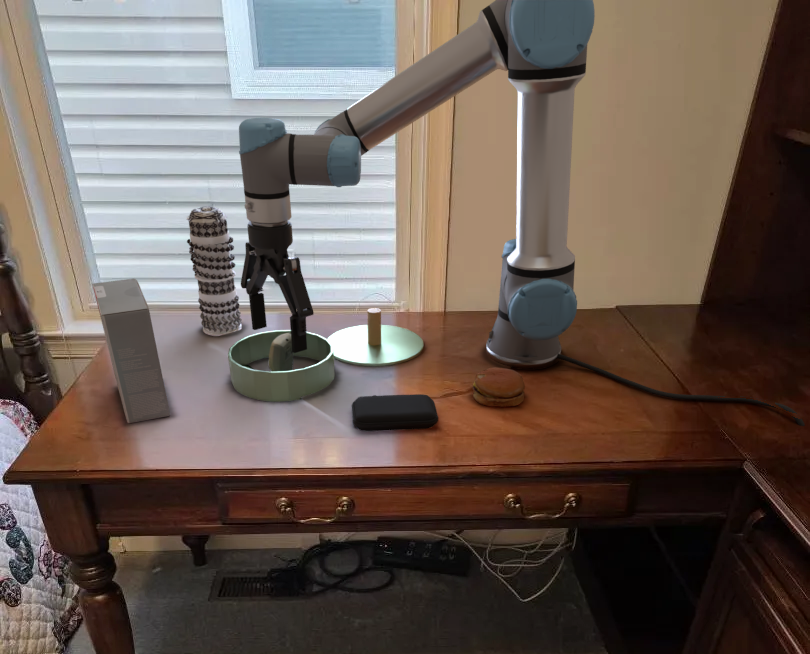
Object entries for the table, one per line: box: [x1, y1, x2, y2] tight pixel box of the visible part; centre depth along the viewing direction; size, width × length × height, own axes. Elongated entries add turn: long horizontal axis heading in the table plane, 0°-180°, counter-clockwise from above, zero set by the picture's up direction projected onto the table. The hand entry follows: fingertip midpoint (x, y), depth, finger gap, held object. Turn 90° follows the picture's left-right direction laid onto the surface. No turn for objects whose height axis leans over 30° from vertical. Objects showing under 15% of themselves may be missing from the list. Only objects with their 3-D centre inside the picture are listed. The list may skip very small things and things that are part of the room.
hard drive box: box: [92, 278, 171, 424], centre depth 131 cm, size 16×8×20 cm, turn 23°
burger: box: [472, 367, 526, 408], centre depth 138 cm, size 10×9×5 cm
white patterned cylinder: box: [186, 205, 243, 337], centre depth 158 cm, size 9×9×25 cm
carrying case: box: [351, 393, 439, 432], centre depth 132 cm, size 11×3×15 cm
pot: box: [227, 329, 336, 403], centre depth 144 cm, size 20×20×6 cm
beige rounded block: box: [267, 333, 294, 372], centre depth 143 cm, size 6×5×8 cm
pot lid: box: [327, 307, 424, 367], centre depth 155 cm, size 20×20×8 cm
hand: (279, 339), depth 141 cm, fingers open, 13 cm apart
